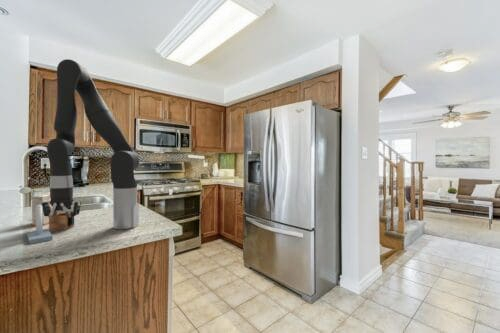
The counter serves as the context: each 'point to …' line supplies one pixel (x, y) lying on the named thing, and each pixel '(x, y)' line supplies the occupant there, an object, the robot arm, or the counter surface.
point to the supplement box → (38, 201)
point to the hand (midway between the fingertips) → (62, 225)
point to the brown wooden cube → (59, 222)
